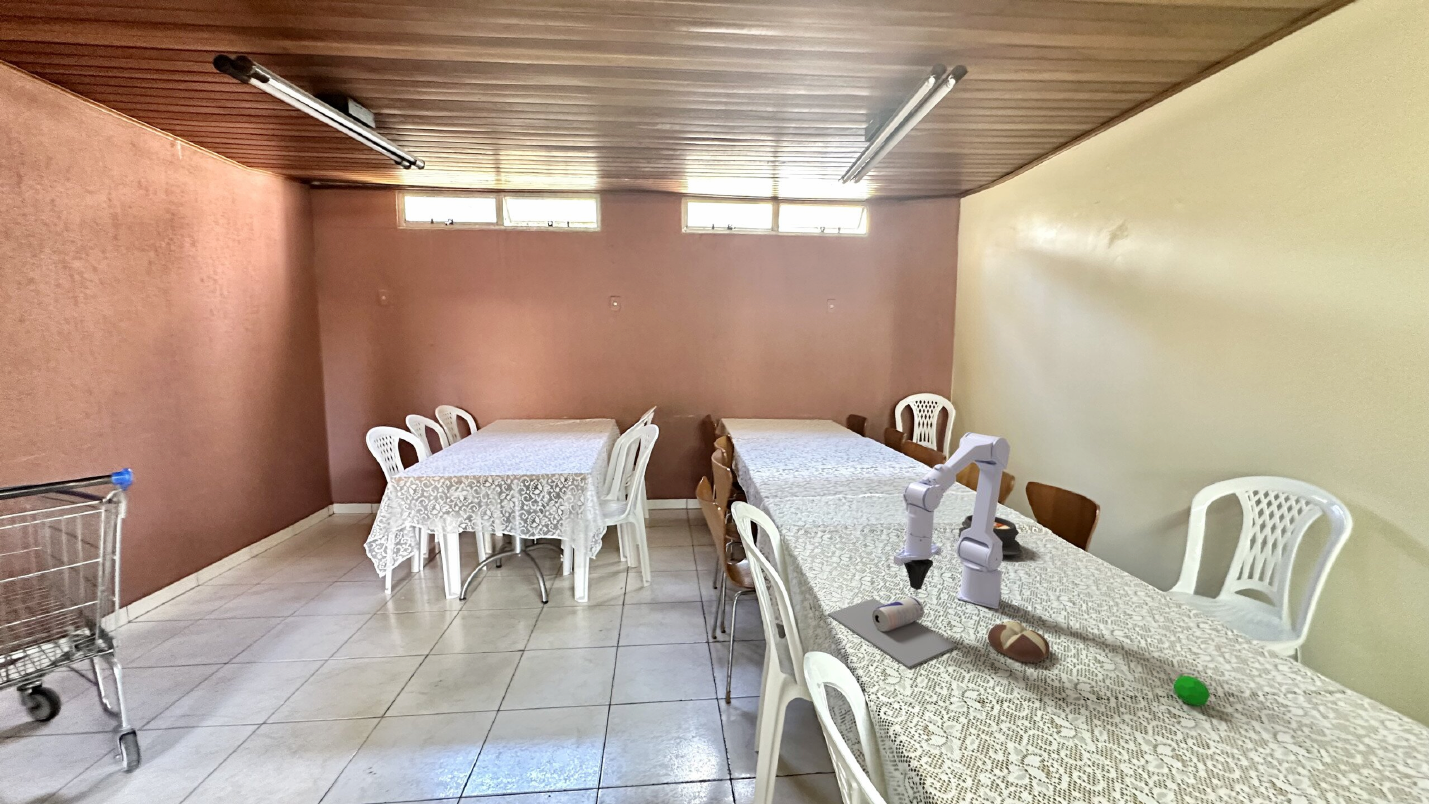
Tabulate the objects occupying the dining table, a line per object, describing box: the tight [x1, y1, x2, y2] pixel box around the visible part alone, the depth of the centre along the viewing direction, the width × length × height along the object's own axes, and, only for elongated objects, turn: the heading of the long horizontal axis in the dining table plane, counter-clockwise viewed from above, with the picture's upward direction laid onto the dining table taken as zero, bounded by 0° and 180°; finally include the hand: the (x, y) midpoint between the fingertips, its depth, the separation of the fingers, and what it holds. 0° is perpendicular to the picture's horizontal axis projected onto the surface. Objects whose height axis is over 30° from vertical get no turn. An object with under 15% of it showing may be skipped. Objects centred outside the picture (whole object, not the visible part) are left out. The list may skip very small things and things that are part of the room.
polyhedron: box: [1172, 675, 1211, 707], centre depth 97 cm, size 5×5×5 cm
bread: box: [987, 621, 1051, 663], centre depth 114 cm, size 11×11×5 cm
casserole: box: [958, 514, 1023, 556], centre depth 174 cm, size 25×19×8 cm
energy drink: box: [872, 596, 925, 631], centre depth 122 cm, size 5×5×12 cm
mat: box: [827, 598, 958, 670], centre depth 120 cm, size 16×24×1 cm, turn 30°
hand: (915, 587), depth 124 cm, fingers closed
